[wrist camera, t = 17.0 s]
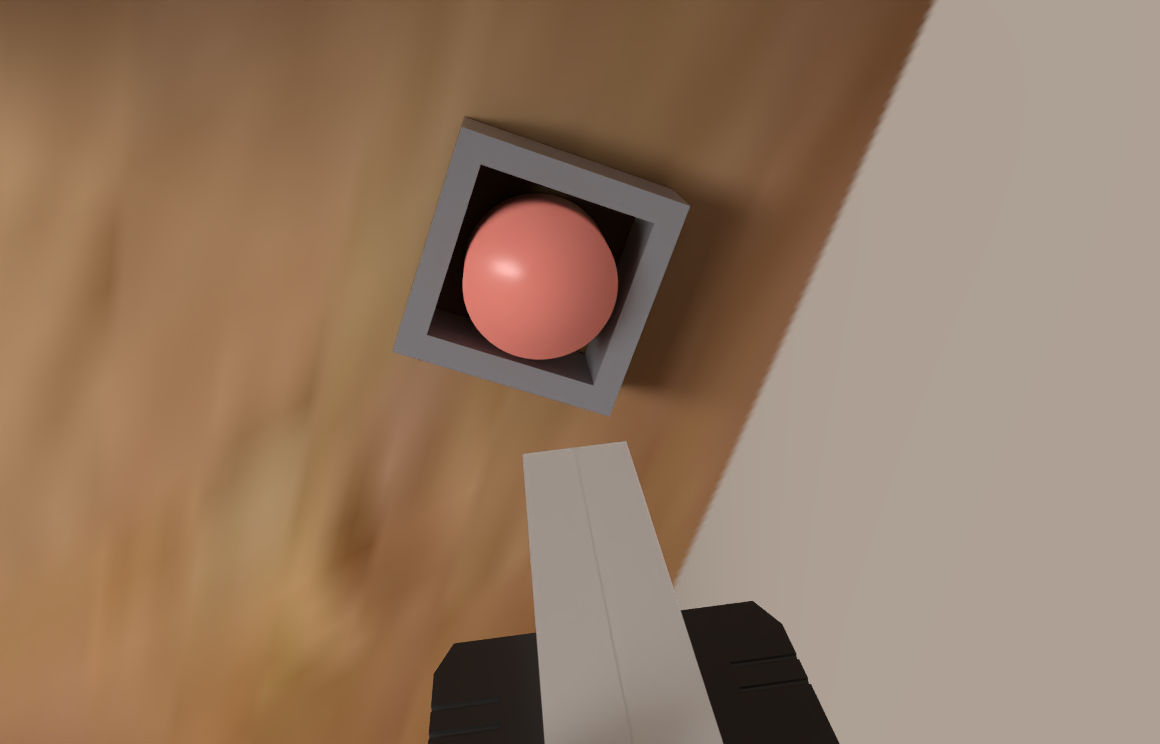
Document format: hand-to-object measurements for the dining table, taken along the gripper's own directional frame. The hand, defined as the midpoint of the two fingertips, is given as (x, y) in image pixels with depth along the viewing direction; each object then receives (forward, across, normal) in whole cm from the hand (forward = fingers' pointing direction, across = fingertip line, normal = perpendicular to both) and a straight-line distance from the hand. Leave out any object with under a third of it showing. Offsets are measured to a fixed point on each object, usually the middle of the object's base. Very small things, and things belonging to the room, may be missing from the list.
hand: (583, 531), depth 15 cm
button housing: (+18, 0, 0) cm, 18 cm away
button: (+17, 0, 0) cm, 17 cm away
